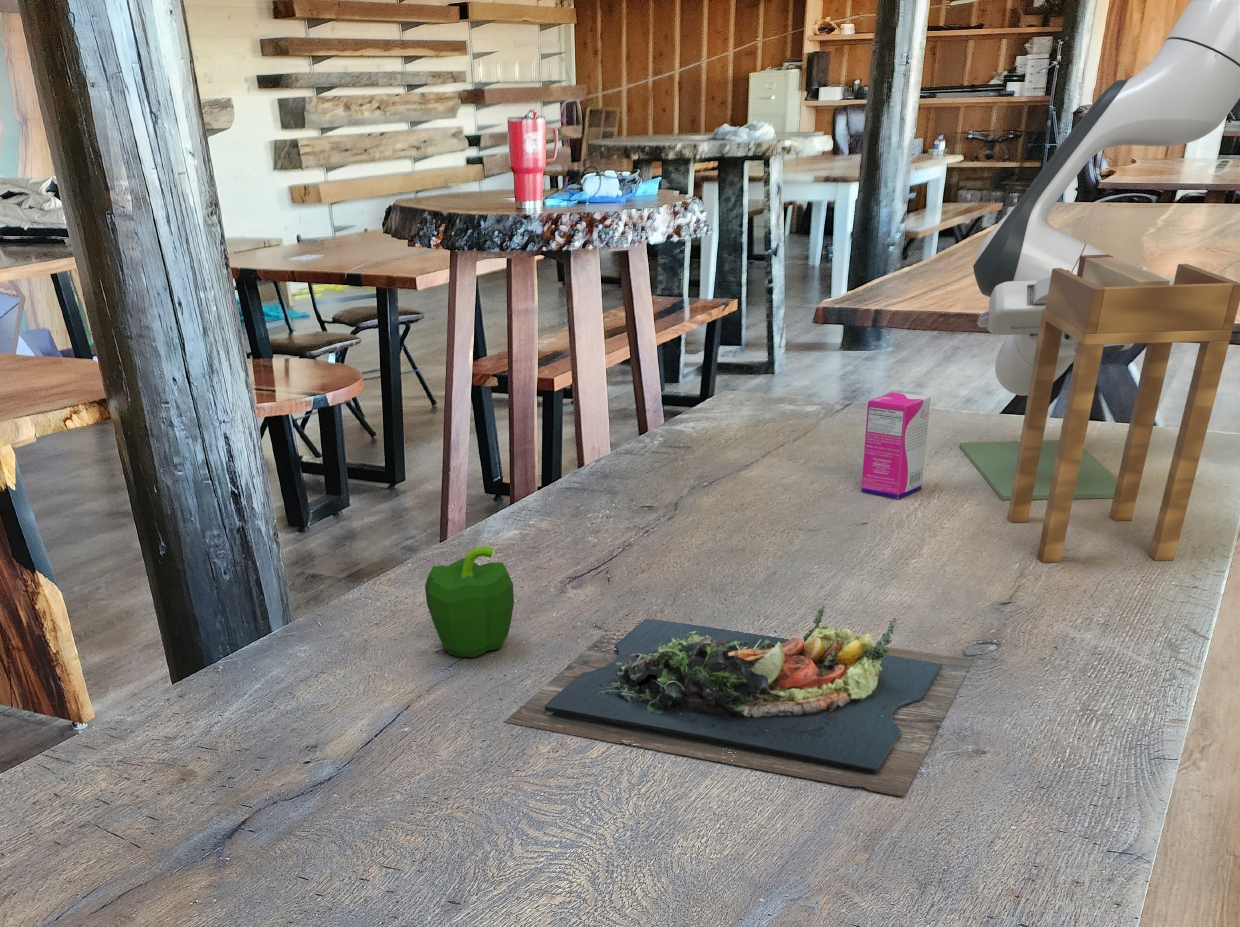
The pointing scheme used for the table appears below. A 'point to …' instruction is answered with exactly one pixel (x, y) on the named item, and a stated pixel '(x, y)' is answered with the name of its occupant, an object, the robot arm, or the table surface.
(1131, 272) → the maple bar
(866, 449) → the supplement box
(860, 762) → the plated dish
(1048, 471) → the rubber mat
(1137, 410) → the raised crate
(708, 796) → the table surface
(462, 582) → the bell pepper
